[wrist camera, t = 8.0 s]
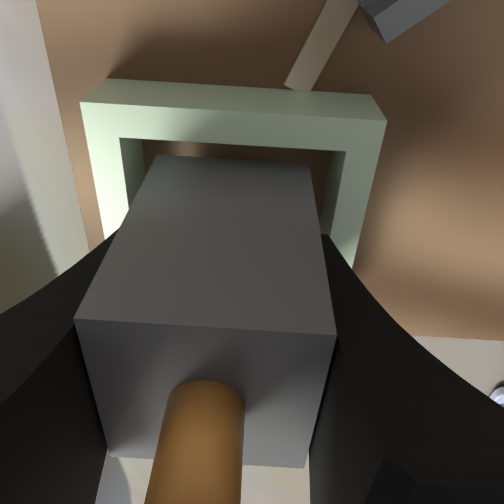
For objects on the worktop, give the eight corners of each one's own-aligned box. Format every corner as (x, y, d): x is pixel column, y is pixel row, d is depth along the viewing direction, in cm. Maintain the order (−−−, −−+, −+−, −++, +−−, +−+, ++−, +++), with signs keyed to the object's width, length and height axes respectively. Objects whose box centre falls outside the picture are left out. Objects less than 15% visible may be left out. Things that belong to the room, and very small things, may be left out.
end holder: (329, 292, 16) (336, 333, 14) (135, 281, 16) (120, 320, 14) (370, 94, 12) (387, 120, 10) (106, 78, 12) (79, 102, 10)
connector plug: (292, 280, 14) (311, 585, 7) (166, 272, 14) (75, 571, 7) (308, 164, 11) (358, 464, 5) (156, 154, 11) (9, 443, 5)
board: (502, 326, 18) (512, 343, 17) (109, 302, 18) (102, 318, 17) (887, -359, 8) (951, -389, 7) (-33, -418, 8) (-65, -455, 7)
